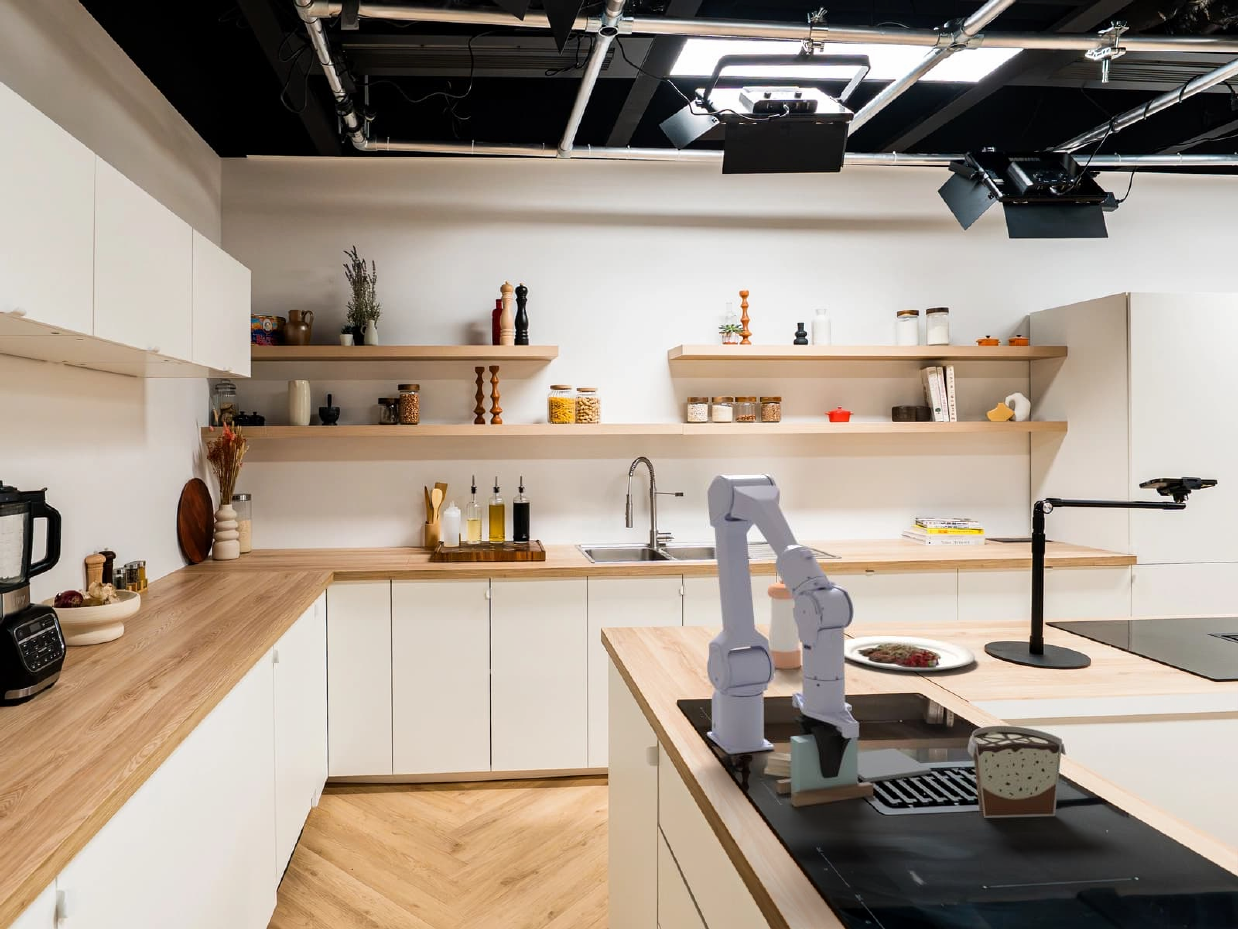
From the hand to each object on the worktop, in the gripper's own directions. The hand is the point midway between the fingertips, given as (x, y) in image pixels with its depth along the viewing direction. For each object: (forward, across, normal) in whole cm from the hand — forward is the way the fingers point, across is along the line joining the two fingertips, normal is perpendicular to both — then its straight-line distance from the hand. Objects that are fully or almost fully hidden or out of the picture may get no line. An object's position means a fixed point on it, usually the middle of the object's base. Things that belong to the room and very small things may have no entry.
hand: (824, 772), depth 113 cm
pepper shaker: (+3, +64, -27) cm, 70 cm away
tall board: (+3, 0, 0) cm, 3 cm away
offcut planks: (+3, +7, 0) cm, 8 cm away
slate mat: (+3, +6, -13) cm, 15 cm away
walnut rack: (+3, 0, 0) cm, 3 cm away
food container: (+3, -11, -21) cm, 24 cm away
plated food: (+3, +61, -56) cm, 83 cm away
